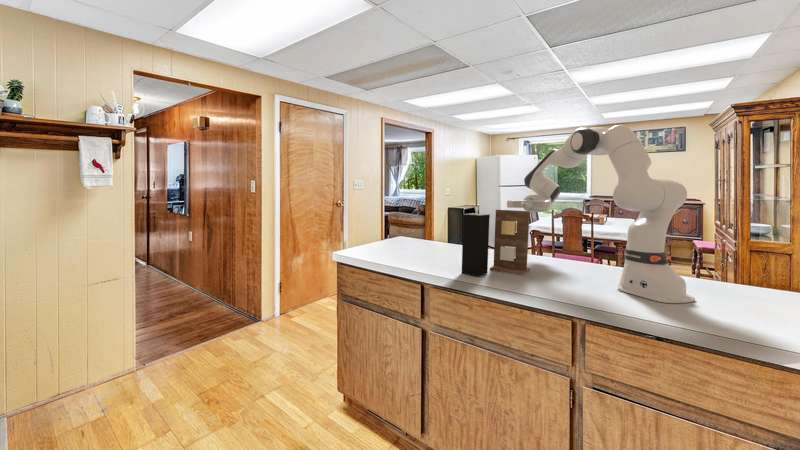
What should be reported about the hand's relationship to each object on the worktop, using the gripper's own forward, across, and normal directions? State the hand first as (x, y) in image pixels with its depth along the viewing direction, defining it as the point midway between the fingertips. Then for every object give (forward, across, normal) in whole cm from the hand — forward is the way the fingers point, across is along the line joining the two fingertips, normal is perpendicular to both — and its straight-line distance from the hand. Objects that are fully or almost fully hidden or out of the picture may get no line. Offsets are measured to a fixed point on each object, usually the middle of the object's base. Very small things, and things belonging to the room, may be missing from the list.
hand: (524, 204), depth 168 cm
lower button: (+20, -1, +23) cm, 30 cm away
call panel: (+18, -1, +28) cm, 33 cm away
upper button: (+20, 0, +12) cm, 23 cm away
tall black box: (+32, -11, +28) cm, 44 cm away
